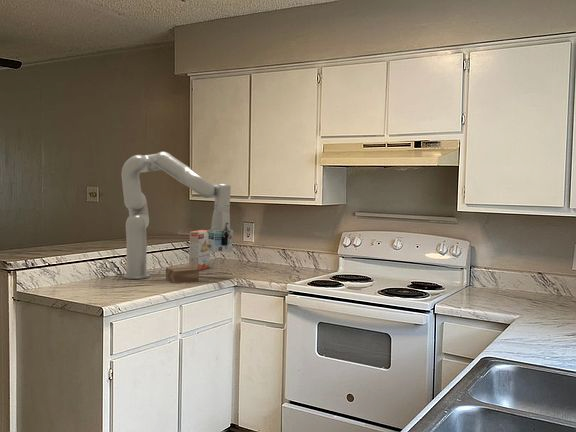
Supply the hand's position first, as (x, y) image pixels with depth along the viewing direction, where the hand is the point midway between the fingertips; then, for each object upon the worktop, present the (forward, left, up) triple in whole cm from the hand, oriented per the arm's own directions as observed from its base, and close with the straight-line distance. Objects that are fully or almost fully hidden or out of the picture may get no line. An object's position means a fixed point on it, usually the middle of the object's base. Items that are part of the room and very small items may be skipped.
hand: (220, 244), depth 297 cm
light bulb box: (0, 0, -4) cm, 4 cm away
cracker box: (-30, +7, -17) cm, 35 cm away
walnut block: (-4, -19, -17) cm, 26 cm away
